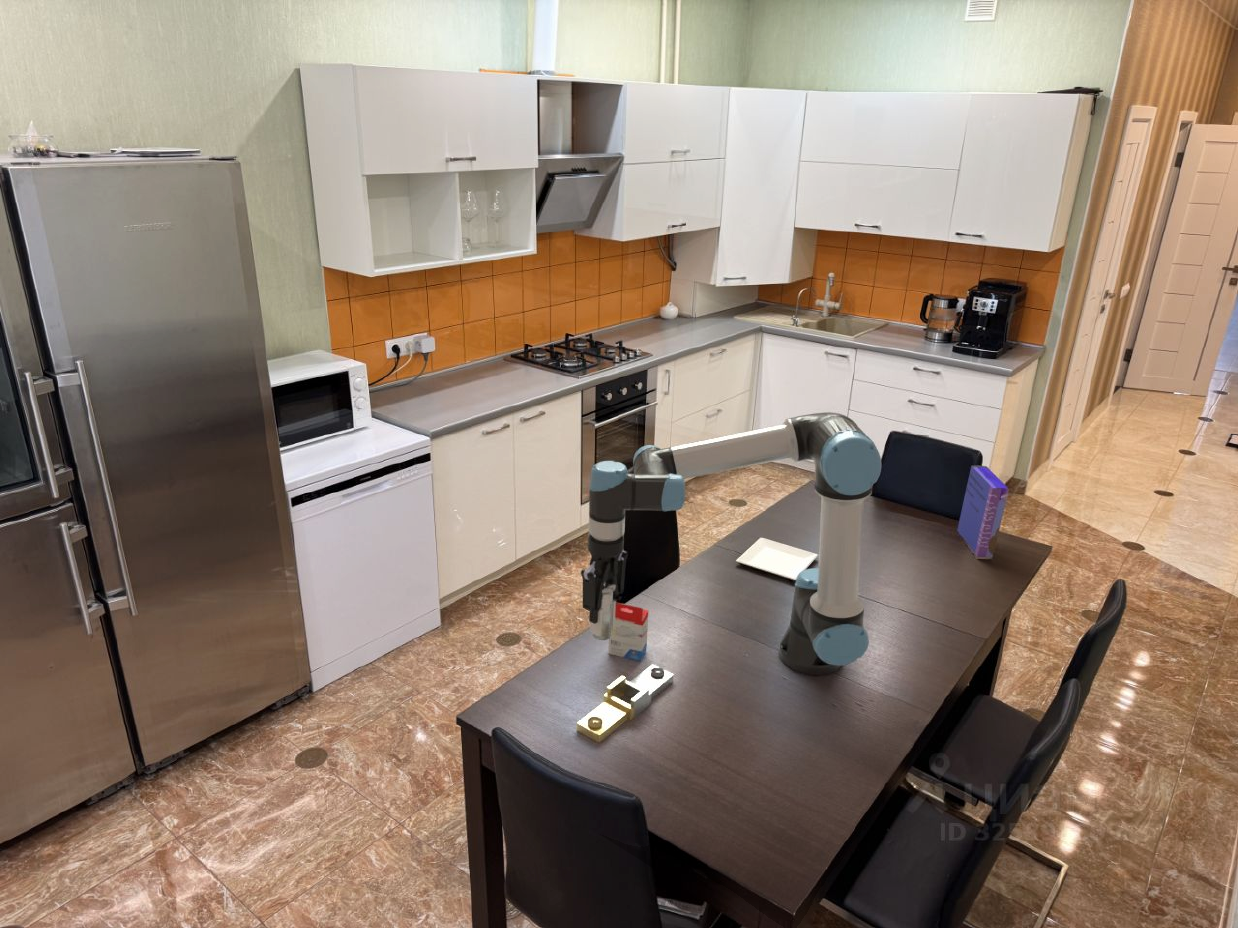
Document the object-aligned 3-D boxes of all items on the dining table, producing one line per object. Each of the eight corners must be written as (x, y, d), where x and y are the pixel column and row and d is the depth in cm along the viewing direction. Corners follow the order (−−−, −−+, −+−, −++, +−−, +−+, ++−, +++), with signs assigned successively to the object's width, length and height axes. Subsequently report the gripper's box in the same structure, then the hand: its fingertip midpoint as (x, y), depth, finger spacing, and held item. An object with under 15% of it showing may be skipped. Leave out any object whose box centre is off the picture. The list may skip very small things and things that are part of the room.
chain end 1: (648, 705, 192) (649, 689, 190) (601, 744, 179) (602, 726, 178) (621, 692, 196) (622, 675, 194) (574, 728, 183) (574, 711, 182)
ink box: (646, 651, 211) (650, 599, 206) (640, 662, 207) (644, 609, 201) (614, 643, 214) (616, 591, 208) (607, 654, 209) (609, 601, 204)
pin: (617, 634, 191) (620, 583, 186) (603, 644, 187) (606, 593, 182) (600, 626, 194) (602, 576, 189) (585, 635, 190) (587, 584, 185)
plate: (817, 560, 259) (818, 553, 258) (794, 585, 244) (795, 579, 244) (760, 542, 268) (760, 536, 267) (734, 566, 253) (735, 560, 252)
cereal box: (992, 560, 264) (1009, 488, 255) (976, 559, 264) (993, 487, 255) (971, 534, 280) (986, 465, 271) (956, 533, 280) (971, 465, 271)
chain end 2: (675, 682, 200) (677, 666, 198) (633, 718, 188) (634, 701, 186) (649, 670, 204) (650, 653, 202) (606, 703, 192) (607, 687, 190)
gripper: (616, 515, 189) (612, 607, 198) (565, 542, 177) (563, 639, 186) (644, 525, 185) (638, 619, 194) (594, 553, 172) (591, 652, 181)
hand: (602, 628), depth 190 cm, fingers closed on pin, 4 cm apart
